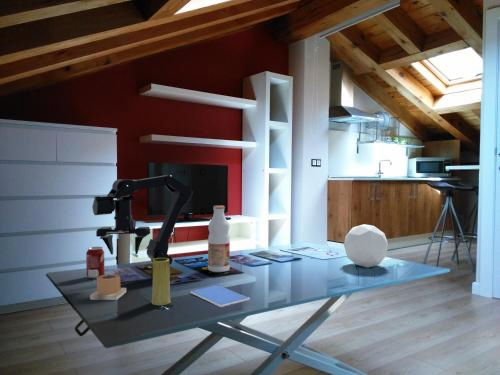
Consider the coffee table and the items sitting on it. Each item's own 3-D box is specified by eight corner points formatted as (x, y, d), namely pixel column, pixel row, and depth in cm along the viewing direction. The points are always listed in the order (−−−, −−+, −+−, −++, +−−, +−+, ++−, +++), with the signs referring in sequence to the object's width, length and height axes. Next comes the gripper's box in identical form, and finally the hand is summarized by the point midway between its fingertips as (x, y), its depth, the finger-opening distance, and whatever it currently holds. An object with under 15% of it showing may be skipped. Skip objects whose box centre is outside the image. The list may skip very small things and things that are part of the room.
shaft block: (126, 292, 142) (126, 273, 141) (116, 300, 133) (116, 280, 132) (101, 291, 142) (101, 273, 142) (90, 299, 133) (89, 280, 133)
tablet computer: (251, 301, 134) (251, 297, 134) (220, 309, 126) (220, 305, 126) (218, 288, 149) (218, 284, 149) (188, 294, 141) (188, 290, 141)
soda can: (98, 280, 157) (98, 249, 157) (83, 279, 159) (82, 249, 158) (107, 275, 164) (107, 246, 163) (92, 274, 165) (92, 246, 165)
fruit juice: (205, 268, 177) (205, 205, 176) (224, 266, 181) (224, 204, 180) (212, 273, 168) (212, 207, 167) (233, 271, 172) (233, 206, 171)
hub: (122, 288, 141) (122, 274, 141) (114, 294, 134) (114, 279, 133) (102, 288, 141) (102, 274, 141) (94, 294, 134) (94, 279, 134)
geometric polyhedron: (373, 283, 178) (383, 253, 166) (333, 262, 188) (339, 233, 175) (389, 257, 190) (399, 227, 178) (350, 238, 199) (358, 209, 187)
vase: (153, 299, 133) (152, 257, 133) (171, 299, 134) (171, 257, 133) (150, 306, 127) (149, 261, 126) (169, 305, 128) (169, 261, 127)
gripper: (153, 210, 157) (154, 249, 158) (106, 210, 157) (107, 250, 158) (145, 213, 146) (146, 255, 147) (94, 214, 146) (96, 256, 147)
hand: (124, 254), depth 150 cm, fingers open, 9 cm apart
